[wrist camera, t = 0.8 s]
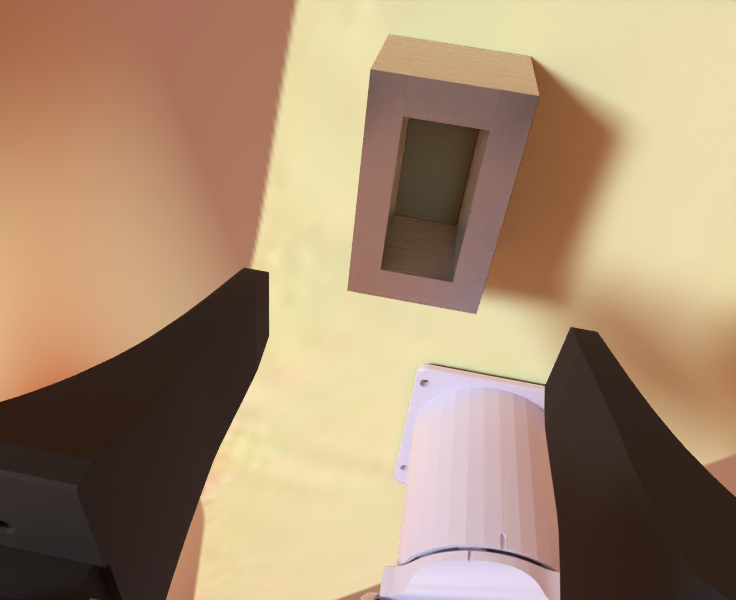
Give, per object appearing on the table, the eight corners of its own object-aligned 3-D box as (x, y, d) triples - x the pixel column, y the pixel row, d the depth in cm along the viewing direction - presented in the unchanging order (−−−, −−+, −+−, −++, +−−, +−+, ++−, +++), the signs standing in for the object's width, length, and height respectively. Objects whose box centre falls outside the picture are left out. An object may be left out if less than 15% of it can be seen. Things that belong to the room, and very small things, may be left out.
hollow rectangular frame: (477, 254, 24) (476, 313, 21) (364, 234, 25) (347, 290, 21) (530, 56, 19) (539, 95, 16) (388, 34, 20) (370, 69, 16)
